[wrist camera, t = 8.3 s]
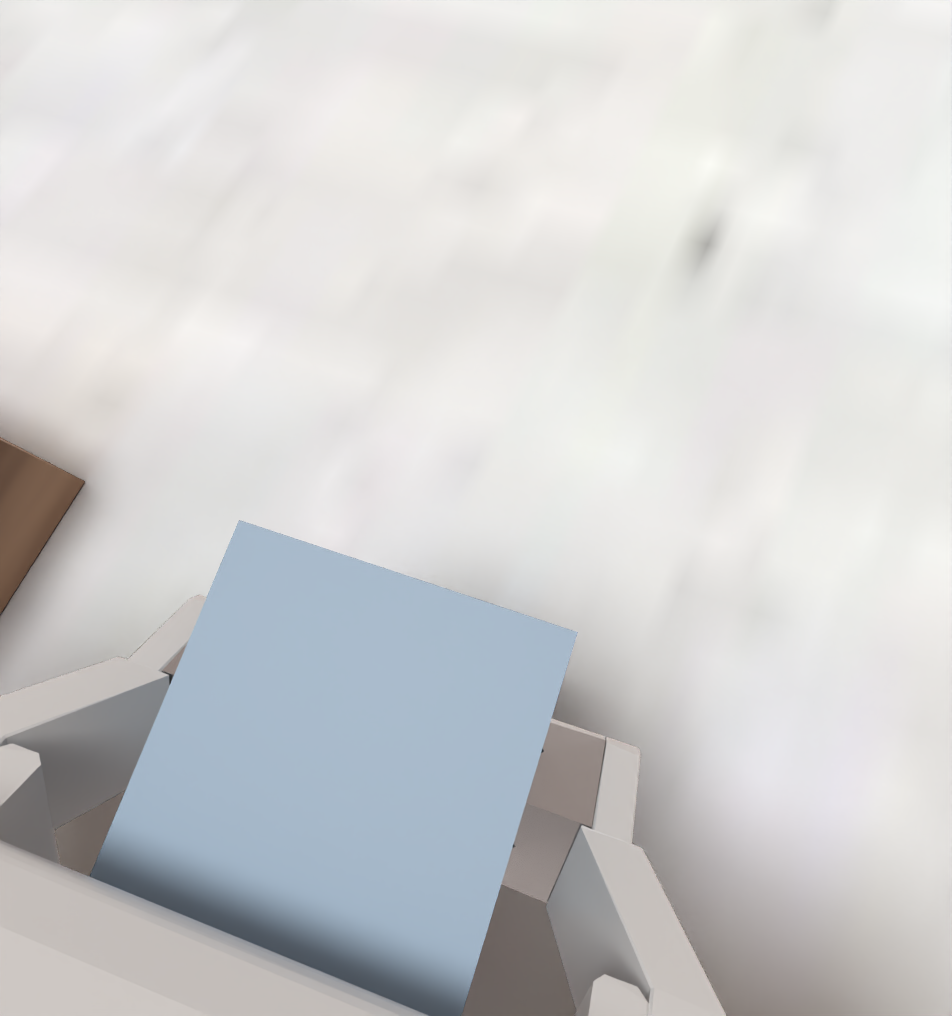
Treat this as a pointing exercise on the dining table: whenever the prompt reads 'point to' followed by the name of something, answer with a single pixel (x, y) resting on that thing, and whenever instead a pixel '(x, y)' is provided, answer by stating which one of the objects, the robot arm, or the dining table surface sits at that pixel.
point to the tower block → (341, 767)
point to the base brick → (28, 511)
